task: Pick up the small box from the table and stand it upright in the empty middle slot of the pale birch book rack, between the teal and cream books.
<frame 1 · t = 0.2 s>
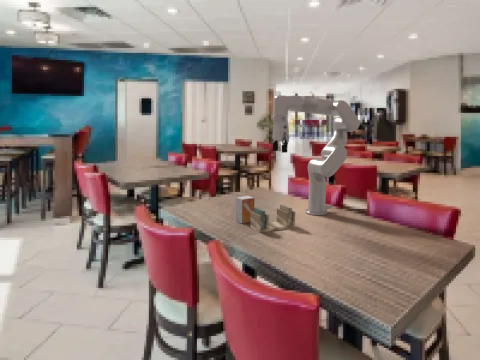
hand: (279, 151, 204), 36 cm above the table, tool pointing down, fingers open, 9 cm apart
book rack: (272, 227, 192), on the table
small box: (245, 221, 203), on the table
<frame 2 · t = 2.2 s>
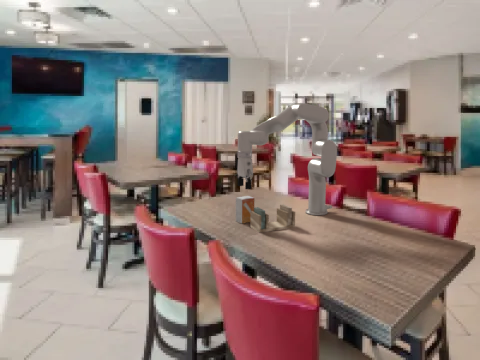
hand: (244, 187, 200), 18 cm above the table, tool pointing down, fingers open, 9 cm apart
nothing on the table moved.
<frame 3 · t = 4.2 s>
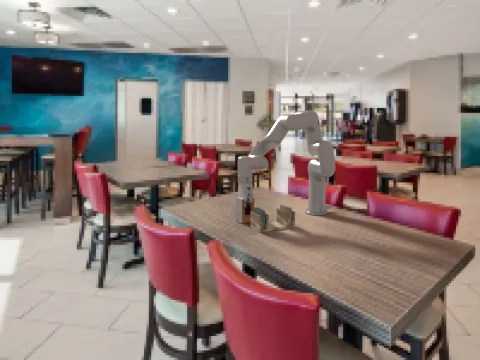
hand: (245, 212, 202), 5 cm above the table, tool pointing down, fingers closed on small box, 6 cm apart
small box: (245, 221, 203), on the table, touching gripper
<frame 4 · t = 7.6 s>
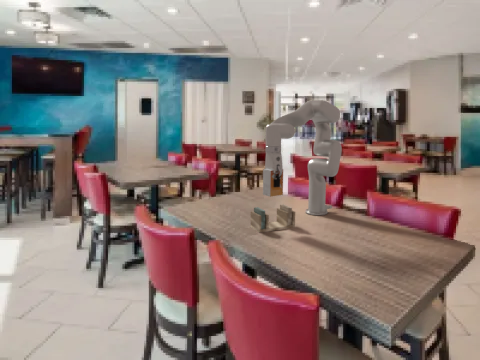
hand: (273, 185, 188), 21 cm above the table, tool pointing down, fingers closed on small box, 6 cm apart
small box: (272, 195, 189), point 16 cm above the table, touching gripper
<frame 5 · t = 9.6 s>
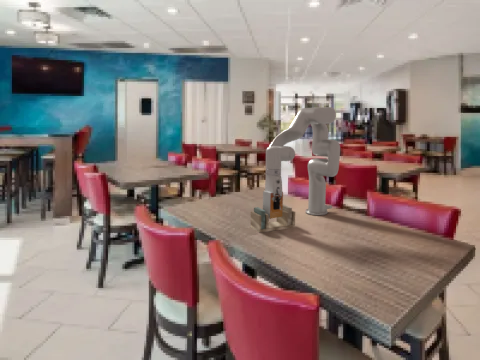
hand: (272, 207, 190), 10 cm above the table, tool pointing down, fingers closed on small box, 6 cm apart
small box: (272, 217, 191), point 5 cm above the table, touching gripper
when the fingers open (7 cm above the table, at t = 11.3 s): small box drops 1 cm, resting on book rack.
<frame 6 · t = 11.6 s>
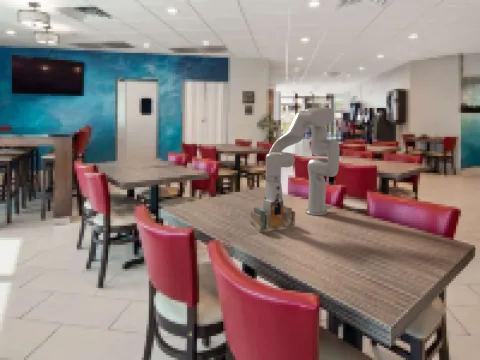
hand: (272, 212, 190), 8 cm above the table, tool pointing down, fingers open, 9 cm apart
small box: (273, 225, 191), point 1 cm above the table, touching book rack
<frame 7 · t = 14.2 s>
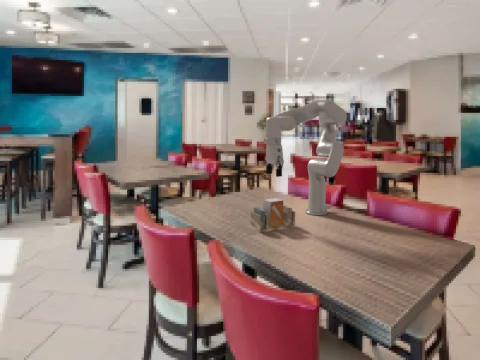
hand: (274, 175, 195), 25 cm above the table, tool pointing down, fingers open, 9 cm apart
nothing on the table moved.
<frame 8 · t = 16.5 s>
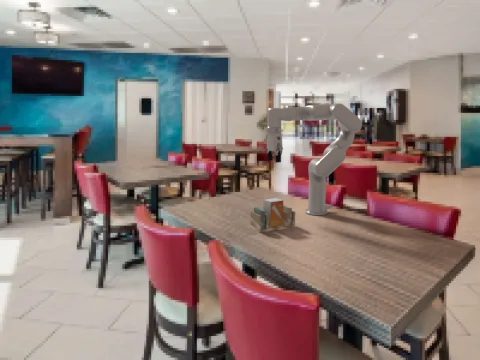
hand: (273, 161, 213), 30 cm above the table, tool pointing down, fingers open, 9 cm apart
nothing on the table moved.
at the end: small box 0.1 cm off-centre on the book rack, point 1.0 cm above the book rack's base; small box tilted 0°; the gripper is holding nothing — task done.
